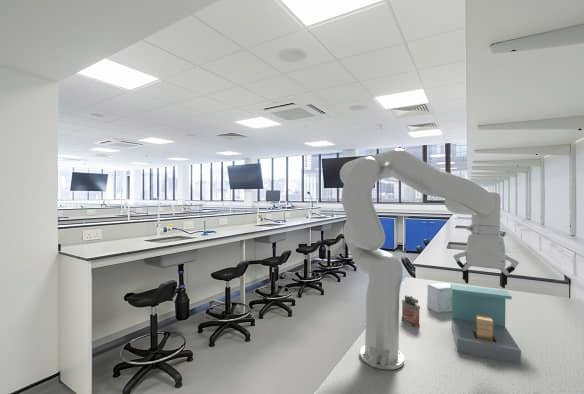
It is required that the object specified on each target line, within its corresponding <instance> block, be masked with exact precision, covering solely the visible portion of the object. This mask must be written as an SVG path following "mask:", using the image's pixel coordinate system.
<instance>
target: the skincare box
mask: <svg viewBox="0 0 584 394" xmlns="http://www.w3.org/2000/svg"><path fill="white" fill-rule="evenodd" d="M451 285H453V284H451V283H448V282H438V283H437V282H436V283H427V298H426V299H427V301H426V302H427V303H426V308H428V309H429V310H431V311H433V312H434V313H437V314H439V313H440V314H441V313H448V312H452V290H451Z"/></svg>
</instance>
